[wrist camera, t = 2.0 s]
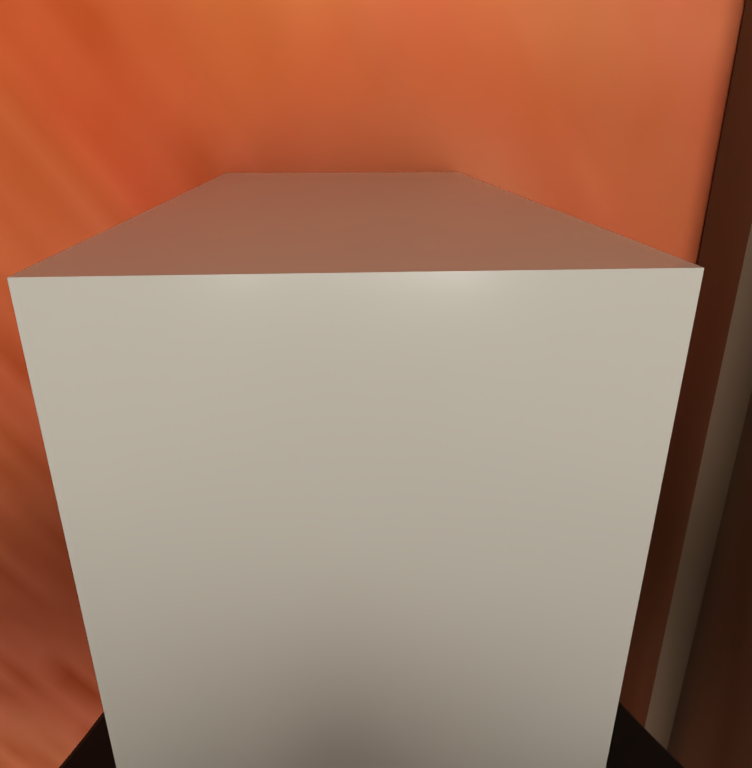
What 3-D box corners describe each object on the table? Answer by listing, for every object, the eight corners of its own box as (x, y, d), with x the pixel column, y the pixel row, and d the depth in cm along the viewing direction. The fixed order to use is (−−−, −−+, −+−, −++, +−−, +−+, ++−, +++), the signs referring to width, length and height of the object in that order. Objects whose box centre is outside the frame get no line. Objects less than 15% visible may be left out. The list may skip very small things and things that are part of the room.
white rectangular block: (280, 802, 13) (240, 1324, 7) (226, 172, 8) (8, 278, 3) (428, 792, 13) (501, 1294, 7) (457, 171, 8) (703, 266, 3)
